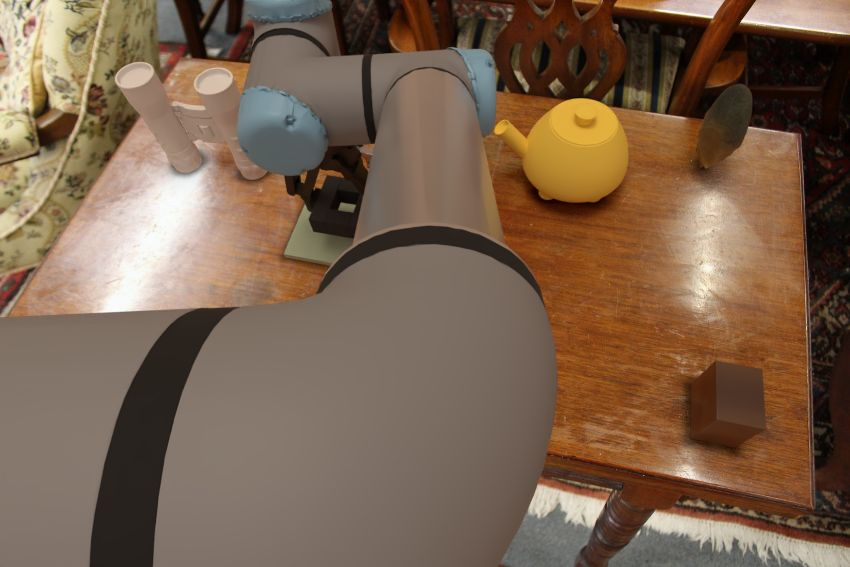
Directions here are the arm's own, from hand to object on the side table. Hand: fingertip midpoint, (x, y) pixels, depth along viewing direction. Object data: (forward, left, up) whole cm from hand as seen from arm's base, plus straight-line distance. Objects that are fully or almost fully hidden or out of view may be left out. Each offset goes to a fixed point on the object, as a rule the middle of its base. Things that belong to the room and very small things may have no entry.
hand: (352, 227), depth 82 cm
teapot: (+17, -28, -2) cm, 33 cm away
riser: (-17, -51, -2) cm, 54 cm away
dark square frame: (0, 0, +3) cm, 3 cm away
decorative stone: (+23, -50, -2) cm, 55 cm away
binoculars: (+9, +26, -2) cm, 28 cm away
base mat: (0, 0, -2) cm, 2 cm away
